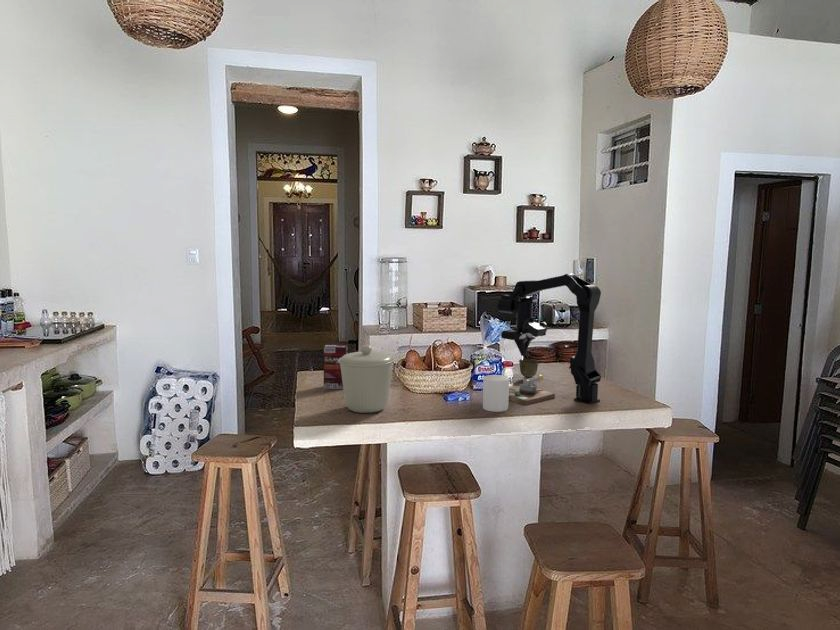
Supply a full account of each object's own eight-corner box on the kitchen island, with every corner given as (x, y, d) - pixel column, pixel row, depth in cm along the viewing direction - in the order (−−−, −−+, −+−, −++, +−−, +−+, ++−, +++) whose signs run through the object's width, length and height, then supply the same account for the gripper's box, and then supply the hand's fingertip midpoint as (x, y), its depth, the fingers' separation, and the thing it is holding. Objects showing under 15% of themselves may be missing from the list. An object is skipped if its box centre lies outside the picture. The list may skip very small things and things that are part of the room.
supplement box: (323, 389, 204) (322, 347, 202) (325, 386, 208) (324, 344, 207) (346, 389, 204) (346, 346, 202) (348, 385, 209) (347, 344, 207)
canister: (340, 401, 188) (339, 340, 185) (393, 400, 189) (393, 340, 187) (337, 418, 170) (336, 350, 167) (395, 416, 171) (395, 349, 169)
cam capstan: (529, 395, 190) (530, 380, 189) (515, 391, 194) (516, 377, 193) (548, 389, 197) (549, 375, 197) (534, 386, 202) (535, 372, 201)
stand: (555, 397, 194) (555, 388, 193) (525, 404, 184) (526, 395, 184) (523, 388, 206) (523, 379, 205) (493, 395, 196) (494, 385, 196)
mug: (487, 381, 175) (477, 372, 186) (486, 412, 176) (476, 402, 188) (512, 380, 176) (500, 371, 188) (511, 411, 177) (500, 401, 189)
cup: (539, 382, 215) (539, 362, 214) (520, 382, 215) (520, 362, 214) (535, 378, 222) (536, 358, 222) (517, 377, 223) (517, 358, 222)
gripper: (523, 318, 193) (522, 362, 195) (557, 314, 204) (556, 356, 206) (500, 315, 201) (499, 357, 203) (534, 312, 213) (533, 351, 215)
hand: (523, 355), depth 207 cm, fingers closed
